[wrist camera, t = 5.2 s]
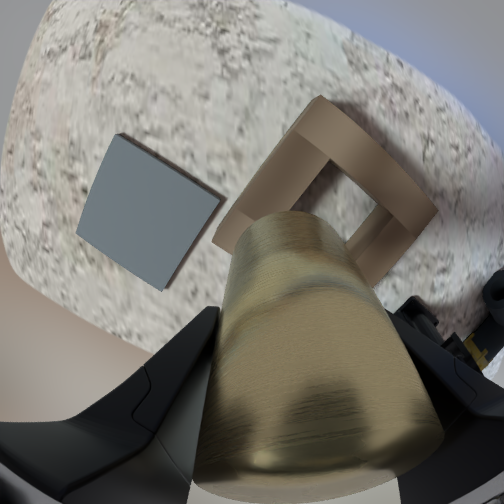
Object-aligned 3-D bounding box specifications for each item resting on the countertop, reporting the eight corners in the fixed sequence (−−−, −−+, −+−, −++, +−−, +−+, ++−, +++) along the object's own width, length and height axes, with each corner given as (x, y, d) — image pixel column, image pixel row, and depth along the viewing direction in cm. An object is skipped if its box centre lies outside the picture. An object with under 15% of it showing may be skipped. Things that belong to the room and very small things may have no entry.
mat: (221, 199, 20) (220, 200, 20) (163, 289, 24) (161, 292, 23) (118, 133, 18) (115, 134, 18) (78, 231, 22) (75, 233, 21)
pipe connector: (486, 385, 24) (459, 361, 21) (472, 363, 29) (440, 332, 26) (535, 330, 20) (524, 284, 17) (517, 311, 25) (498, 262, 22)
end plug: (366, 255, 11) (470, 434, 3) (294, 327, 13) (315, 506, 5) (280, 185, 10) (341, 397, 2) (209, 275, 12) (154, 479, 4)
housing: (419, 199, 19) (438, 210, 17) (331, 300, 24) (338, 321, 21) (312, 99, 17) (320, 94, 14) (217, 226, 21) (211, 241, 18)
